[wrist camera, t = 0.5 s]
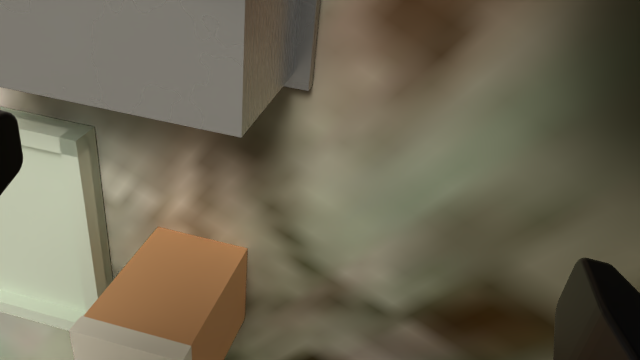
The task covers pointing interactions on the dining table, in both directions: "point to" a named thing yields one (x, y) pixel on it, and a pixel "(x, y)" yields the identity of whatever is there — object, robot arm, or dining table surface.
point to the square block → (168, 303)
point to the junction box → (161, 55)
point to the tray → (53, 225)
